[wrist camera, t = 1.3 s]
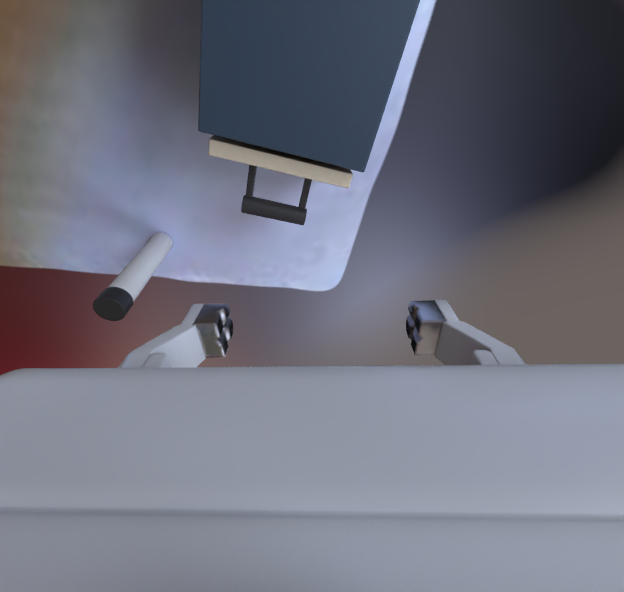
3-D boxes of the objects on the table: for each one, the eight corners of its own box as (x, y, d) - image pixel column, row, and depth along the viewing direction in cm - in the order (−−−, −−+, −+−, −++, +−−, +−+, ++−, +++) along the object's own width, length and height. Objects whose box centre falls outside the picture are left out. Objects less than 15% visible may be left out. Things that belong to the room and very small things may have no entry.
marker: (146, 237, 37) (85, 305, 26) (163, 227, 37) (107, 293, 26) (162, 254, 39) (110, 325, 28) (178, 244, 38) (132, 314, 27)
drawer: (325, 210, 35) (332, 241, 29) (222, 188, 33) (205, 215, 27) (385, -7, 25) (417, -35, 19) (241, -60, 23) (220, -112, 16)
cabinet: (347, 148, 32) (364, 172, 25) (223, 116, 30) (198, 131, 22) (403, -52, 24) (456, -113, 16) (238, -117, 22) (207, -225, 14)
